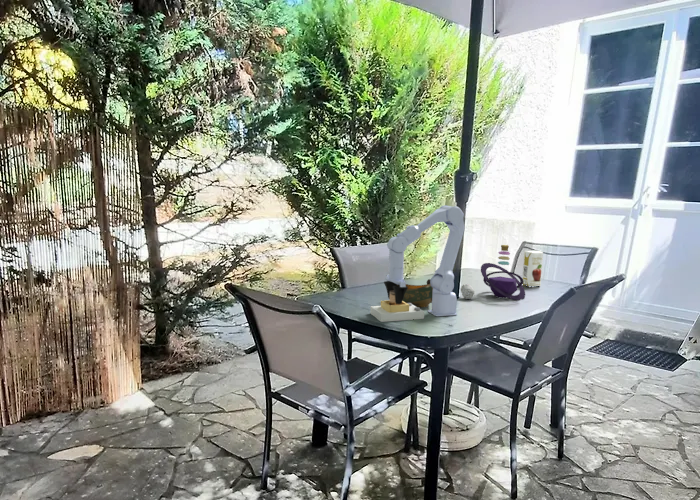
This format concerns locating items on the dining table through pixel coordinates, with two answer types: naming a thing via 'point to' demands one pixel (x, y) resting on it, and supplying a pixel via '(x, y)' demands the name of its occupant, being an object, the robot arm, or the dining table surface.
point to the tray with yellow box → (396, 312)
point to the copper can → (392, 298)
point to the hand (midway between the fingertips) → (394, 301)
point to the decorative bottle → (503, 279)
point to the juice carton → (532, 268)
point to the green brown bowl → (418, 295)
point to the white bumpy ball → (467, 291)
